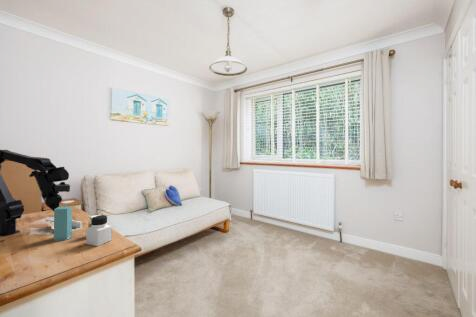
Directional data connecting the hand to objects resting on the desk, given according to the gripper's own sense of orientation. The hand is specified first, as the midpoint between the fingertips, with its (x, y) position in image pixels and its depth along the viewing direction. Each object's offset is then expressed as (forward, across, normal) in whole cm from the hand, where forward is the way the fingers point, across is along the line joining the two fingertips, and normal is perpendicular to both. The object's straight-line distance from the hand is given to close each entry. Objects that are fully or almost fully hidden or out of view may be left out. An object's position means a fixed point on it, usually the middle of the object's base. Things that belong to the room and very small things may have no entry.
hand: (57, 211), depth 112 cm
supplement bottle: (+12, -20, -9) cm, 25 cm away
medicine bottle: (+11, -31, -8) cm, 34 cm away
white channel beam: (+11, 0, -1) cm, 11 cm away
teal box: (+8, -14, +2) cm, 17 cm away
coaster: (+9, -15, +2) cm, 17 cm away
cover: (+7, +5, 0) cm, 8 cm away
